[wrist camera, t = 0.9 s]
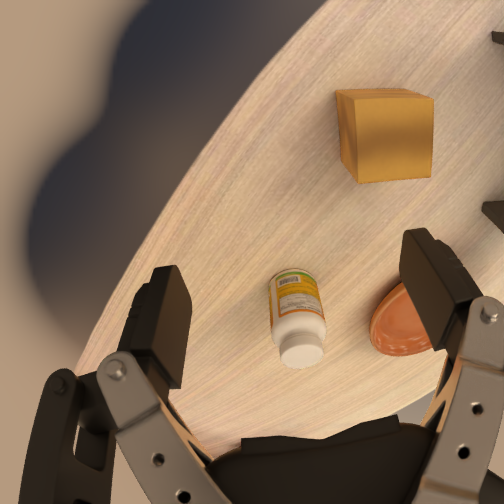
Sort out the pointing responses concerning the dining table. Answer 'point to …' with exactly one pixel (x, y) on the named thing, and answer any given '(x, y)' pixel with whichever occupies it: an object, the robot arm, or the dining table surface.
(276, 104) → the dining table surface
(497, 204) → the small wooden bench
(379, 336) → the saucer
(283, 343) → the supplement bottle
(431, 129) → the box
